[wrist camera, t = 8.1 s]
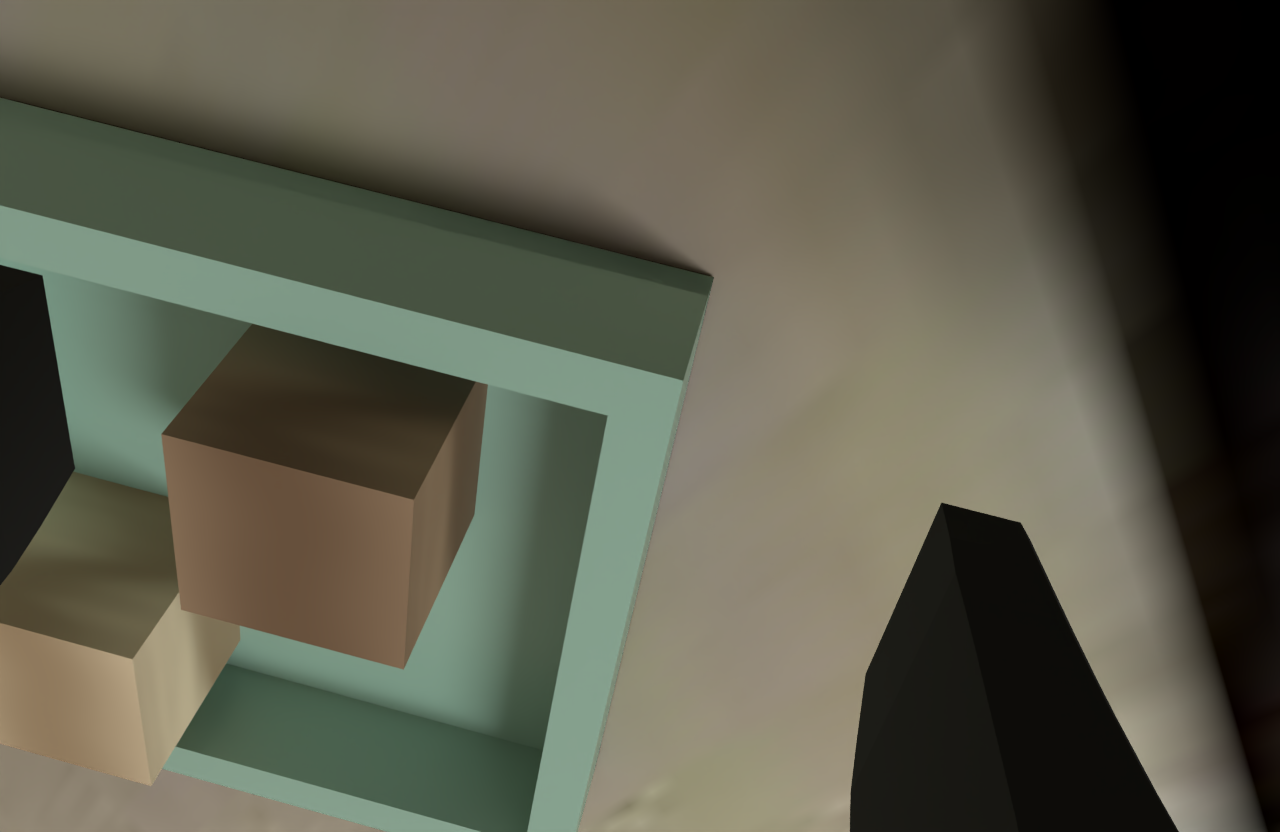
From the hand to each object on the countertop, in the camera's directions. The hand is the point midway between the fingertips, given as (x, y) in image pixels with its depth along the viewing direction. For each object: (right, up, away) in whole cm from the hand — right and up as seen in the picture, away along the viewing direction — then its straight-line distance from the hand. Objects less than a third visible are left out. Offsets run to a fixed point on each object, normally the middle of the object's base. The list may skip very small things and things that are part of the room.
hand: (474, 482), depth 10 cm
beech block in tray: (-9, -3, +17) cm, 19 cm away
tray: (-5, -1, +15) cm, 16 cm away
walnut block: (-3, +1, +13) cm, 13 cm away
